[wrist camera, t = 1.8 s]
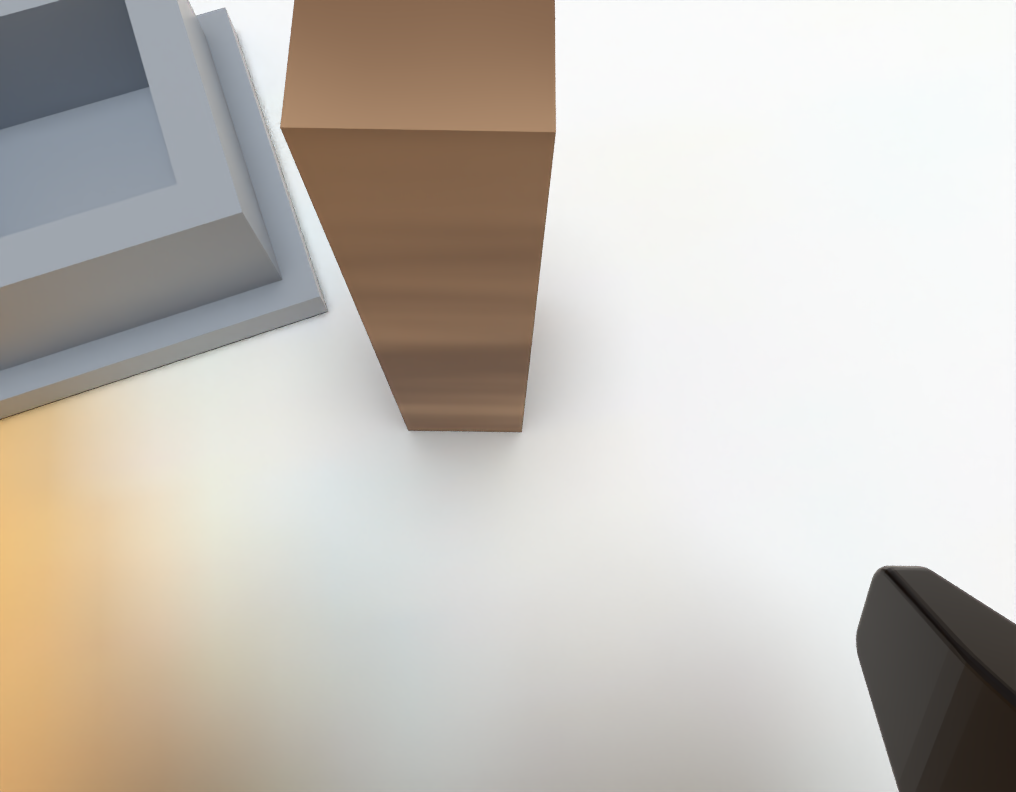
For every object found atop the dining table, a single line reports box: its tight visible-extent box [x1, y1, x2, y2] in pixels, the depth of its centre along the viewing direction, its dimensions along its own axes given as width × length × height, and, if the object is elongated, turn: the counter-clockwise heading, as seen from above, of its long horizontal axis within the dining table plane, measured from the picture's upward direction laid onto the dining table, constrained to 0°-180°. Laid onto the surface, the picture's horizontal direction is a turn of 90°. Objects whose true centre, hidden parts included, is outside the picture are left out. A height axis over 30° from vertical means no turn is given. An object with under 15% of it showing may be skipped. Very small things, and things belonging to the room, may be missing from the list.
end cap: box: [0, 0, 328, 419], centre depth 21 cm, size 10×10×4 cm
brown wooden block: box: [280, 0, 556, 432], centre depth 15 cm, size 4×3×13 cm
